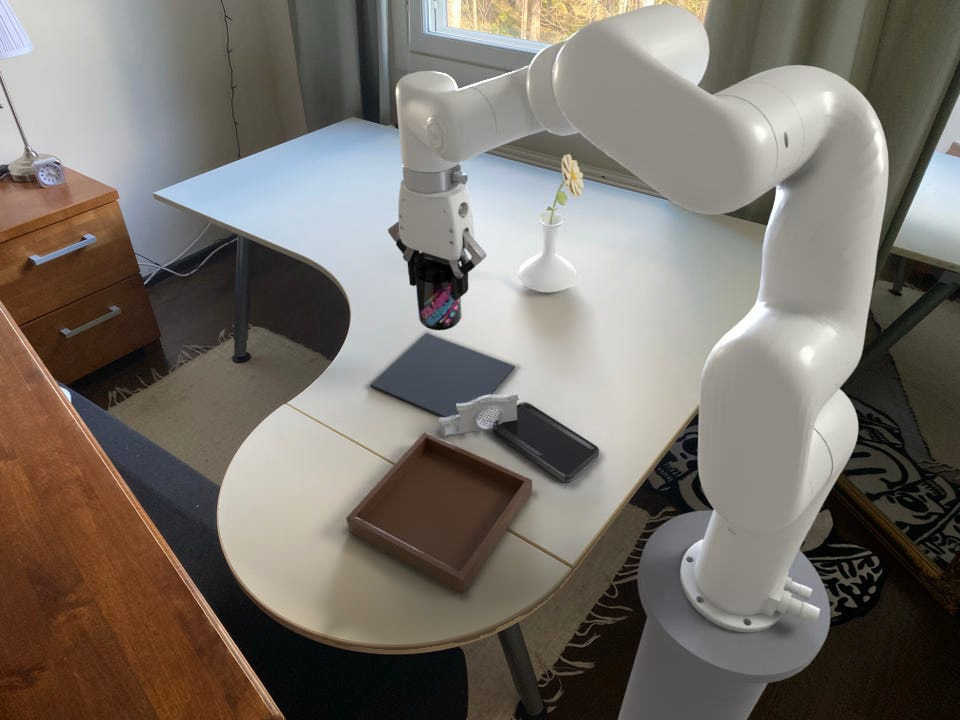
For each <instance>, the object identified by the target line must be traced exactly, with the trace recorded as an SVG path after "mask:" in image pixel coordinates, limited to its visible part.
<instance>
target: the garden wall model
mask: <svg viewBox="0 0 960 720" xmlns="http://www.w3.org/2000/svg"><path fill="white" fill-rule="evenodd" d="M473 400H474V399H473ZM519 400H520V398H519V394H518V393H517V392H516V391H514V392H511V393H507V394H505V395H504V394H497V393H493V394H491V395H490V394H488V395H485V396H482V397H480V398H479V397H478V399H477V398H476V400H474V401H472V400H471V402H470V401H469V403H467V402H466V404H465V403H464V404H463V403H461V404H460V403H459V405H458V403H456V404H457V405H456V407H457V410H458V412H459V415H457V414H456V416H455V415H454V417H453V416H452V415H451V416H452V417H450V416H449V418H448V417H447V418H446V417H444V418H443V417H441V416H439V417H438V422H439V425H440V428H441V434H442V438H446V437H451V436H456V435H461V434H466V433H467V434H468V433H472V432H477V431H492V430H493V423H494V422H495V421H497V420H498V424H501V423H502V422H508V421H514V420H517V405H518V401H519Z"/></svg>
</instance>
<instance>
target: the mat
mask: <svg viewBox="0 0 960 720" xmlns="http://www.w3.org/2000/svg"><path fill="white" fill-rule="evenodd" d="M515 368H516V366H515V365H514V364H511V363H508V362H506V361H502V360H500V359H497V358H495V357H492V356H490V355H487V354H483V353H481V352H479V351H476V350H473V349H471V348H468V347H465V346H462V345H459V344H457V343H455V342H452V341H449V340H446V339H443V338H441V337H439V336H435V335H432V334H430V333H427V332H426V333H425V334H423V335H422V336H421V337H420V338H419V339H418V340H417V341H416V342H415V343H414V344H412V346H411V347H410V348H408V349H407V350H406V351H405V352H404V353H402V355H401V356H400V357H399V358H398V359H397V360H395V361H394V362H393V363H392V364H391V365H390V366H389V367H388V368H387V369H386V370H385V371H383V372H382V374H380V375H379V376H378V377H377V378H376V379H375V380H373V382H372V383H370V387H371V388H373V389H376V390H378V391H380V392H383V393H385V394H387V395H390V396H392V397H395V398H397V399H400V401H401V400H402V401H404V402H407V403H408V404H411V405H412V406H416V407H418V408H420V409H423V410H425V411H427V412H429V413H432V414H435V415H436V416H439V417H440V418H442V417H443V419H444V417H446V418H447V417H448V418H449V416H450V417H452V416H453V417H454V415H455V416H456V414H457V415H459V412H458V410H457V407H456V405H457V404H456V403H458V405H459V403H460V404H461V403H463V404H464V403H465V404H466V402H467V403H469V401H470V402H471V400H472V401H474V400H476V398H477V399H478V397H479V398H480V397H482V396H485V395H488V394H490V395H491V394H492V395H494V392H495V391H496V390H497V389H498V388H499V387H500V386H501V385H502V383H503V382H504V381H505V380H506V379H507V377H508V376H509V375H510V374H511V373H512V372H513V370H514V369H515ZM473 399H474V400H473ZM451 415H452V416H451Z"/></svg>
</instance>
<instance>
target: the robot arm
mask: <svg viewBox="0 0 960 720" xmlns="http://www.w3.org/2000/svg"><path fill="white" fill-rule="evenodd" d="M709 59H710V43H709V36H708V33H707V30H706V28H705V26H704V25H703V23H702V22H701V20H700V19H699V18H698V17H697V16H696V15H695V14H694V13H693V12H691V11H690V10H689V9H687V8H685V7H683V6H679V5H676V4H669V3H656V4H650V5H646V6H642V7H639V8H636V9H633V10H629V11H625V12H622V13H619V14H615V15H612V16H608V17H605V18H601V19H598V20H595V21H593V22H590V23H588V24H586V25H584V26H583V27H581V28H579V29H577V31H576V32H574V33H573V34H572V35H570V37H568V38H567V39H564V40H562V41H559V42H557V43H555V44H552V45H549V46H546V47H545V48H542V49H541V50H540V51H539V52H537V54H536V55H535V56H534V58H533V59H532V61H531V62H530V64H529V65H527V66H524V67H521V68H519V69H516V70H513V71H511V72H508V73H505V74H502V75H500V76H496V77H492V78H489V79H486V80H483V81H480V82H477V83H473V84H470V85H467V86H464V87H462V88H458V86H457V83H456V81H455V80H454V79H453V78H452V77H451V76H450V75H449V74H446V73H443V72H439V71H434V70H423V71H416V72H411V73H408V74H406V75H403V76H402V77H401V78H400V79H399V80H398V81H397V83H396V86H395V101H396V102H395V103H396V114H397V123H398V135H399V147H400V157H401V158H400V159H401V169H402V180H401V181H400V186H399V193H398V207H397V208H398V211H397V213H398V215H397V216H398V221H397V222H396V223H394V224H393V225H392V226H390V227H389V228H388V229H387V232H388V234H389V235H390V237H391V238H392V240H393V241H394V242H395V245H396V247H397V248H398V249H399V251H400V253H402V259H403V260H404V262H406V263H407V273H408V274H407V275H408V279H409V280H408V281H409V286H412V287H416V283H415V274H414V263H413V260H414V258H415V257H416V255H418V254H419V253H421V252H424V253H427V254H430V255H434V256H437V257H440V258H444V259H447V260H448V261H449V264H450V266H451V268H452V270H453V272H454V275H453V276H452V277H451V286H452V298H453V300H456V301H457V300H458V299H459V298H460V297H461V298H462V297H463V296H464V295H465V294H467V293H468V291H469V273H470V272H471V271H472V270H473V269H475V268H476V266H478V265H479V264H480V263H481V262H483V261H484V260H485V259H486V258H487V256H488V255H487V252H486V251H485V250H484V249H483V247H481V246H480V244H479V243H478V242H477V241H476V240H475V229H474V227H475V226H474V216H473V208H472V204H471V199H470V194H469V191H468V188H467V185H466V184H467V183H468V180H469V179H468V174H466V173H463V172H462V168H461V167H462V166H461V162H464V161H467V160H470V159H472V158H475V157H477V156H479V155H482V154H485V153H487V152H489V151H492V150H493V149H497V148H498V147H501V146H503V145H506V144H509V143H511V142H515V141H517V140H519V139H522V138H525V137H528V136H531V135H535V134H537V133H541V132H544V131H547V132H548V133H551V134H553V135H555V136H562V137H565V136H570V135H575V134H578V133H580V135H581V136H583V137H584V138H585V139H586V140H587V141H588V142H589V143H591V144H592V145H593V146H594V147H596V148H597V149H598V150H601V151H602V152H603V153H604V154H605V155H607V156H608V157H610V158H611V159H613V160H614V161H615V162H616V163H618V164H619V165H620V166H622V167H623V168H625V169H626V170H627V171H629V172H630V173H632V174H633V175H634V176H636V177H637V178H639V179H640V180H641V181H642V182H644V183H645V184H647V185H648V186H649V187H651V188H652V189H653V190H654V191H656V192H657V193H658V194H660V195H661V196H663V197H664V198H666V199H668V200H669V201H670V202H671V203H673V204H675V205H678V206H679V207H681V208H683V209H685V210H687V211H690V212H693V213H697V214H701V215H708V216H709V215H710V216H711V215H713V216H715V215H716V216H717V215H725V214H728V213H733V212H735V211H738V210H740V209H741V208H743V207H746V206H747V205H749V204H751V203H753V202H754V201H755V200H757V199H759V198H760V197H761V196H763V195H765V194H766V193H768V192H769V191H770V190H772V189H773V188H775V198H774V202H773V207H772V209H771V213H770V215H769V219H768V223H767V226H766V229H765V234H764V238H763V244H762V257H761V259H762V262H761V263H762V265H761V274H760V281H759V289H758V294H757V298H756V301H755V304H754V305H753V307H752V308H751V309H750V311H749V312H748V314H747V315H746V316H745V317H744V318H743V319H742V320H740V321H739V322H738V323H737V324H736V325H735V326H733V327H732V329H730V330H729V331H727V333H726V334H724V336H722V337H721V339H720V340H719V341H718V342H716V344H715V346H714V347H713V348H712V350H711V351H710V353H709V354H708V357H707V359H706V361H705V364H704V366H703V370H702V372H701V375H700V376H701V377H700V383H699V397H698V400H699V401H698V429H697V430H698V431H697V432H698V434H697V435H698V438H697V441H698V442H697V470H698V477H699V482H700V485H701V489H702V492H703V493H704V496H705V498H706V499H707V501H708V503H709V504H710V506H711V507H712V509H713V510H712V511H713V513H712V516H711V519H710V522H709V525H708V528H707V531H706V534H705V537H704V539H703V540H700V541H699V542H697V543H695V544H694V545H692V546H691V547H690V548H689V549H688V551H687V552H686V554H685V555H684V557H683V560H682V563H681V567H680V581H681V585H682V588H683V591H684V593H685V595H686V597H687V598H688V600H689V601H690V603H691V604H692V605H693V607H694V608H695V609H696V610H697V611H698V612H699V613H700V614H702V615H703V616H704V617H705V618H707V619H708V620H710V621H711V622H713V623H715V624H717V625H718V626H721V627H723V628H726V629H728V630H733V631H737V632H749V633H751V632H758V631H762V630H765V629H768V628H770V627H771V626H773V625H774V624H776V623H777V622H778V621H779V620H780V618H781V617H782V615H783V614H785V612H786V611H787V612H789V613H791V614H794V615H796V616H798V618H800V619H803V620H805V621H807V622H809V623H811V624H815V623H816V621H817V619H818V616H819V612H820V609H819V608H817V607H815V606H812V605H810V604H808V603H806V602H802V601H799V600H797V599H795V598H793V597H791V595H792V594H791V593H789V592H788V591H790V592H792V593H794V594H797V596H800V597H802V598H804V599H807V600H809V598H810V596H811V592H812V589H811V588H808V587H806V586H804V585H800V584H798V583H795V582H793V581H791V580H792V578H790V577H788V576H787V575H788V572H789V568H790V566H791V564H792V562H793V560H794V558H795V556H796V554H797V552H798V550H800V548H801V546H802V545H803V542H804V541H805V539H806V537H807V535H808V533H809V531H810V530H811V528H812V526H813V524H814V522H815V520H816V519H817V516H818V514H819V513H820V511H821V508H822V506H823V505H824V503H825V501H826V499H827V497H828V496H829V494H830V492H831V491H832V489H833V487H834V485H835V484H836V482H837V480H838V479H839V477H840V475H841V473H842V471H843V470H844V468H845V467H846V465H847V463H848V461H849V460H850V458H851V456H852V454H853V452H854V449H855V447H856V444H857V442H858V436H859V420H858V419H859V418H858V415H857V412H856V408H855V407H854V405H853V403H852V401H851V399H850V398H849V397H848V395H846V393H845V392H844V391H843V390H842V389H841V387H842V386H843V385H844V384H845V383H846V381H847V380H848V379H849V378H850V376H852V374H853V373H854V372H855V370H856V368H857V367H858V365H859V363H860V360H861V358H862V355H863V350H864V344H865V339H866V330H867V323H868V318H869V311H870V304H871V299H872V295H873V294H872V293H873V287H874V281H875V275H876V267H877V258H878V251H879V244H880V239H881V232H882V225H883V220H884V215H885V209H886V202H887V196H888V186H889V170H890V169H889V167H890V166H889V163H890V161H889V151H888V145H887V144H888V143H887V140H886V135H885V131H884V128H883V127H882V123H881V121H880V119H879V117H878V115H877V113H876V110H875V109H874V108H873V106H872V105H871V103H870V102H869V100H868V99H867V98H866V97H865V96H864V95H863V93H862V92H861V91H860V90H858V89H857V88H856V86H854V84H851V83H850V82H849V81H847V79H845V78H843V77H842V76H840V75H838V74H836V73H834V72H832V71H829V70H826V69H824V68H821V67H817V66H811V65H802V64H790V65H784V66H779V67H774V68H771V69H767V70H764V71H761V72H758V73H756V74H754V75H752V76H749V77H747V78H745V79H743V80H741V81H738V82H737V83H735V84H733V85H730V86H729V87H727V88H724V89H722V90H720V91H718V92H716V93H714V94H711V93H709V92H708V91H707V90H704V89H703V88H701V86H698V85H699V84H700V83H701V81H702V80H703V77H704V75H705V73H706V71H707V67H708V64H709ZM466 251H467V252H466ZM467 253H469V254H470V256H471V257H470V259H469V257H468V254H467ZM458 259H459V260H460V264H459V262H458Z"/></svg>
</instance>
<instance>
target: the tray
mask: <svg viewBox="0 0 960 720" xmlns="http://www.w3.org/2000/svg"><path fill="white" fill-rule="evenodd" d="M532 494H533V479H531V478H529V477H527V476H524V475H522V474H520V473H518V472H516V471H513V470H512V469H511V470H510V469H509V468H507V467H504V466H503V465H500V464H497V463H495V462H493V461H490V460H488V459H486V458H484V457H482V456H479V455H478V454H475V453H472V452H470V451H468V450H466V449H464V448H462V447H459V446H457V445H455V444H452V443H451V442H448V441H446V440H443V439H441V438H440V437H437V436H435V435H432V434H430V433H428V432H426V431H425V432H423V433H422V434H421V436H419V437H418V438H417V439H416V441H415V442H414V443H413V444H412V445H411V446H410V447H409V448H408V450H407V451H406V452H405V453H404V454H403V455H402V456H401V457H400V458H399V459H398V460H397V461H396V462H395V464H394V465H393V466H392V467H391V468H390V469H389V470H388V471H387V472H386V473H385V475H384V476H383V477H382V478H381V479H380V480H379V481H378V482H377V483H376V484H375V486H374V487H373V488H372V489H371V490H370V491H369V492H368V493H367V494H366V495H365V496H364V498H363V499H362V500H360V502H359V503H358V504H357V505H356V506H355V507H354V508H353V510H352V511H350V513H348V515H347V516H346V517H345V520H346V524H347V528H348V533H351V534H353V535H355V536H356V537H358V538H360V539H362V540H364V541H365V542H367V543H369V544H371V545H373V546H375V547H376V548H378V549H380V550H382V551H383V552H385V553H388V554H389V555H391V556H392V557H395V558H397V559H398V560H400V561H401V562H404V563H405V564H408V565H410V566H411V567H413V568H415V569H417V570H418V571H420V572H422V573H424V574H426V575H428V576H429V577H431V578H433V579H435V580H437V581H438V582H440V583H442V584H444V585H445V586H448V587H449V588H451V589H452V590H455V591H456V592H459V593H460V594H462V595H464V594H465V593H466V591H467V590H468V588H469V586H470V585H471V584H472V582H473V581H474V579H475V578H476V576H477V575H478V573H479V572H480V570H481V569H482V567H483V566H484V565H485V564H486V562H487V560H488V559H489V557H490V556H491V554H492V553H493V551H494V550H495V548H496V547H497V546H498V544H499V542H500V541H501V540H502V538H503V537H504V535H505V533H507V531H508V529H509V528H510V526H511V525H512V523H513V522H514V521H515V519H516V518H517V516H518V515H519V513H520V512H521V510H522V509H523V508H524V506H525V505H526V503H527V502H528V500H529V498H530V497H531V496H532Z"/></svg>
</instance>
